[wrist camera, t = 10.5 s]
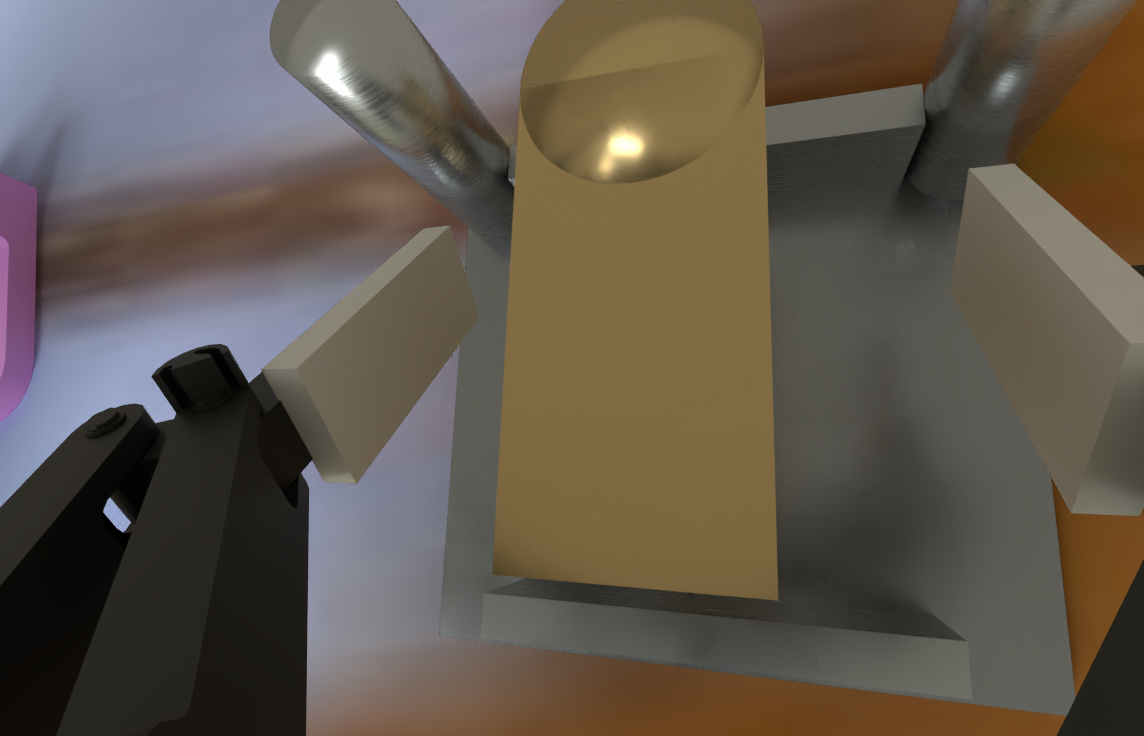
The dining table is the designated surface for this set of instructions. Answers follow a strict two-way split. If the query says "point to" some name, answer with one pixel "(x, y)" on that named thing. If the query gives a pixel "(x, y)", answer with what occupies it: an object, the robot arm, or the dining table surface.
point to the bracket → (16, 290)
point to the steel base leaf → (788, 371)
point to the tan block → (640, 305)
